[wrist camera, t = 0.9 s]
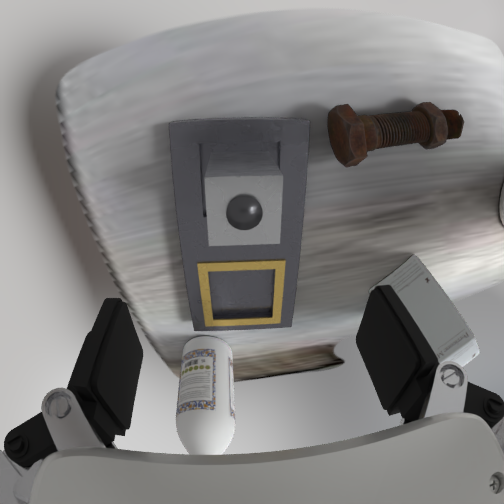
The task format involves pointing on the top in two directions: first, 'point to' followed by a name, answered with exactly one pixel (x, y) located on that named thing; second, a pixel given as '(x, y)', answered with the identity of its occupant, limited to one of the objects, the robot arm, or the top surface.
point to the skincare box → (433, 312)
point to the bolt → (389, 130)
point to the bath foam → (206, 396)
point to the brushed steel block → (243, 198)
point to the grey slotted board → (239, 256)
